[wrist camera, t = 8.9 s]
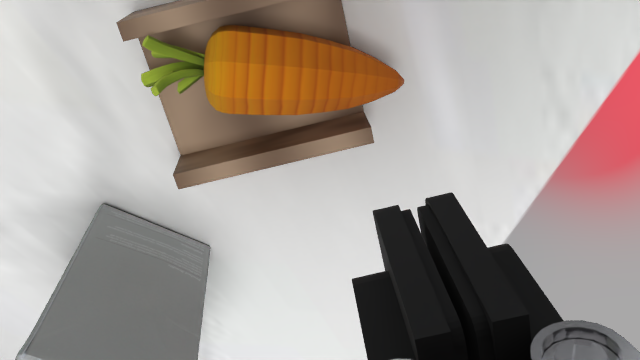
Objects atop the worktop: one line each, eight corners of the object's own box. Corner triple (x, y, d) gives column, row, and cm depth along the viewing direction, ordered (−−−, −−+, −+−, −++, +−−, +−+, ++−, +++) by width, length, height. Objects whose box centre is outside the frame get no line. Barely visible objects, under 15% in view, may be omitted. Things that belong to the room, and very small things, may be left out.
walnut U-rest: (332, -38, 33) (339, -33, 29) (364, 121, 37) (374, 142, 33) (133, 11, 33) (116, 22, 30) (187, 163, 37) (178, 189, 34)
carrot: (418, 28, 30) (130, 5, 29) (413, 121, 31) (126, 103, 29) (395, 47, 35) (148, 28, 34) (390, 126, 36) (144, 112, 34)
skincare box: (70, 270, 40) (-44, 463, 26) (108, 189, 38) (5, 353, 23) (181, 313, 42) (132, 513, 28) (223, 240, 40) (193, 417, 26)
